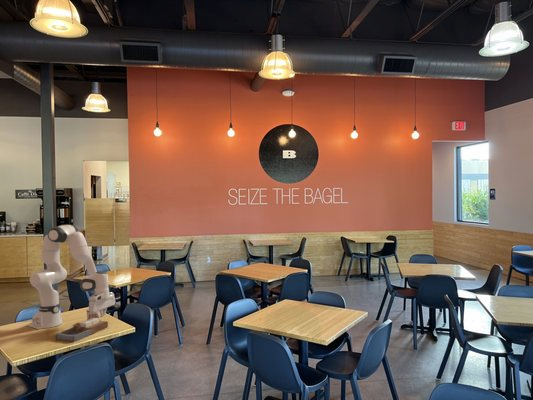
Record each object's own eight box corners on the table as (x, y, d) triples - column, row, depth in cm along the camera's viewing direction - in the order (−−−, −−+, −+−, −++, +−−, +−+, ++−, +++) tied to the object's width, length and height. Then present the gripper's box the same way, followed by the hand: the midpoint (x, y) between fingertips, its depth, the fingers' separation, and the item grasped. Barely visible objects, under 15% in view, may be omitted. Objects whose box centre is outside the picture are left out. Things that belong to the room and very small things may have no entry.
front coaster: (80, 326, 241) (80, 322, 241) (86, 324, 246) (86, 320, 246) (86, 327, 239) (86, 323, 239) (92, 324, 244) (92, 321, 244)
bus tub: (56, 339, 230) (55, 333, 230) (73, 332, 242) (73, 326, 242) (73, 342, 225) (73, 336, 225) (91, 334, 237) (91, 329, 237)
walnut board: (73, 332, 242) (73, 326, 242) (91, 325, 255) (90, 319, 255) (91, 334, 237) (91, 328, 237) (107, 327, 250) (107, 321, 250)
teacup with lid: (86, 324, 257) (86, 307, 257) (86, 320, 266) (86, 304, 266) (105, 321, 263) (104, 305, 263) (104, 317, 271) (104, 302, 271)
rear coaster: (87, 323, 246) (87, 319, 246) (93, 321, 251) (93, 317, 251) (93, 324, 245) (93, 320, 245) (99, 322, 249) (99, 318, 249)
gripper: (110, 291, 266) (111, 310, 266) (86, 298, 247) (87, 319, 247) (117, 291, 264) (117, 310, 263) (94, 299, 245) (94, 320, 244)
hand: (103, 315), depth 255 cm, fingers closed
